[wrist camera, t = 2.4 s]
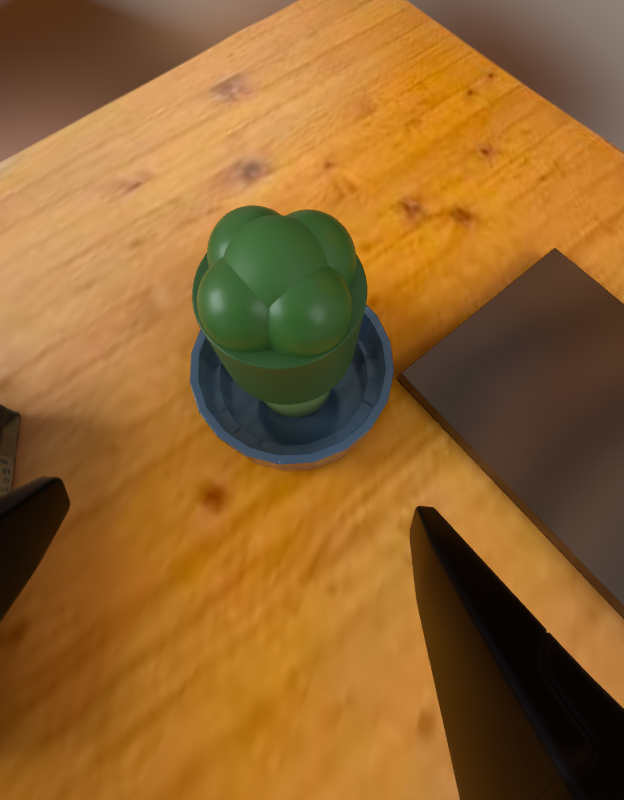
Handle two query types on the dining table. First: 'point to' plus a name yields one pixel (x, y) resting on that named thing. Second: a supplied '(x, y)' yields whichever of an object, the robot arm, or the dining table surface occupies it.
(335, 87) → the dining table surface
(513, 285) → the board
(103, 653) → the dining table surface
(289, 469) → the bowl
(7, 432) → the beverage carton
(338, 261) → the broccoli
